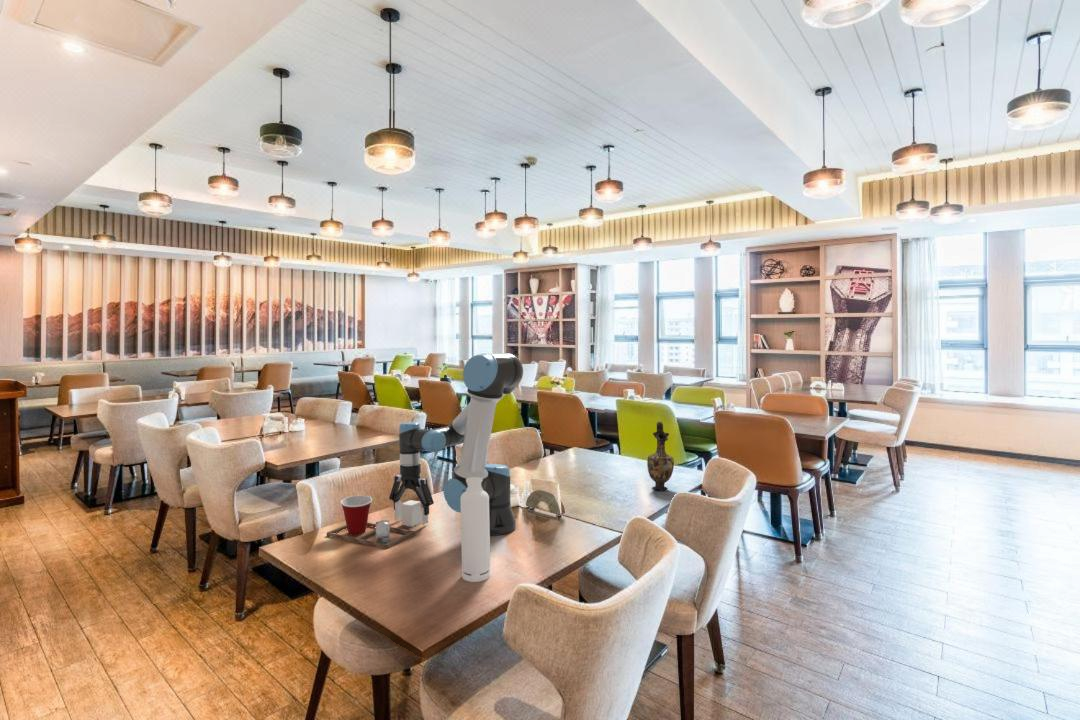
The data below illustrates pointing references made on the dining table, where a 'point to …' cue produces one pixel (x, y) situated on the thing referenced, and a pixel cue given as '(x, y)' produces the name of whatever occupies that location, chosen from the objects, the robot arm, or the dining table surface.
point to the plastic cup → (356, 513)
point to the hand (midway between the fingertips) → (411, 521)
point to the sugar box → (411, 513)
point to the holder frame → (362, 538)
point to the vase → (660, 461)
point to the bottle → (475, 531)
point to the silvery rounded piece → (382, 532)
